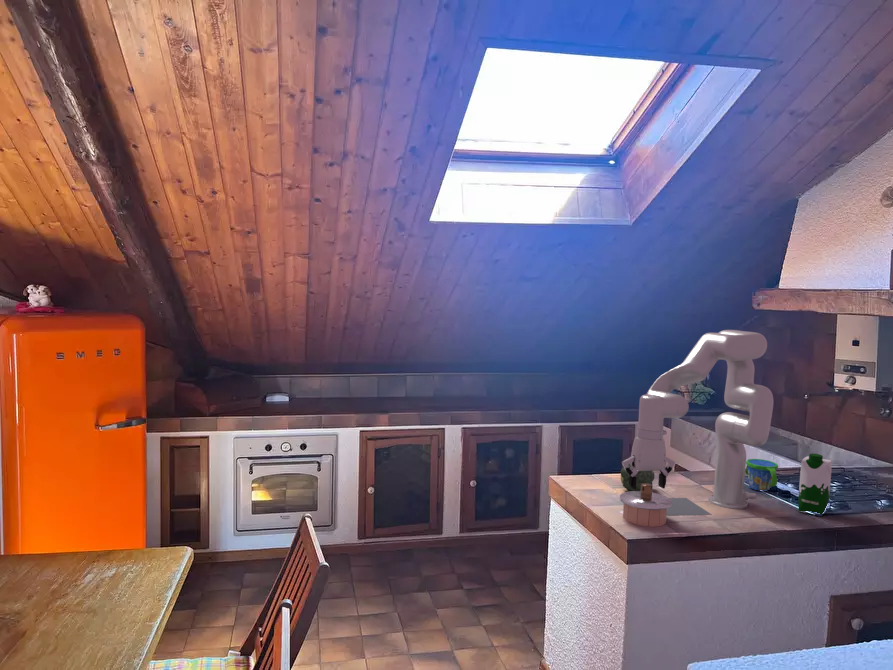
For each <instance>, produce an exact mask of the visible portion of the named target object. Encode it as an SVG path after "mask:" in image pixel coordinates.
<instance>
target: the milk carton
mask: <svg viewBox="0 0 893 670" xmlns="http://www.w3.org/2000/svg"><path fill="white" fill-rule="evenodd" d="M832 462H833V460H831V459H828V458H827V459H825V458H824V455H822V454H818V453H809V454H808V455H807V456H805V457H804V458H803V459H801V464H800V473H799V483H798V484H799V485H798V487H799V488H798V497H797V499H798V500H797V501H798V505H797V506H798V512H799V511H812V512H817V513H820V514H822V513H823V512H824V510H825V508H826V506H827V504H828V505H829V501H830V492H831V491H830V490H831V482H832V481H831V480H832V479H831V478H832V472H833V471H832V464H833V463H832ZM827 507H828V506H827Z"/></svg>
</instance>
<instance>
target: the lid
mask: <svg viewBox="0 0 893 670" xmlns="http://www.w3.org/2000/svg"><path fill="white" fill-rule="evenodd" d="M669 498H670V497H667V496H665V495H663V494H660V493H656V492H653V484H652V485H651V484H647V483H643V484H641V491H624V492H622V493H620V495H619V500H620V502H622V503H623V505H624V504H627V505H629V506H632V507H636V508H640V509H647V510H664V509H668V508H670V507H672V500H671V499H669Z"/></svg>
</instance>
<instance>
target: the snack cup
mask: <svg viewBox="0 0 893 670" xmlns="http://www.w3.org/2000/svg"><path fill="white" fill-rule="evenodd" d="M778 469H779V465H778V464H777V463H776V462H774V461H771V460H766V459H761V458H749V459H746V467H745V475H747V479H748V488H749V489H752V490H754V491H756V490H767V489H770V488H771V489H772V487H776V486H777V485H778V478H777V477H778V476H777V472H776V471H777V470H778Z"/></svg>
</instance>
